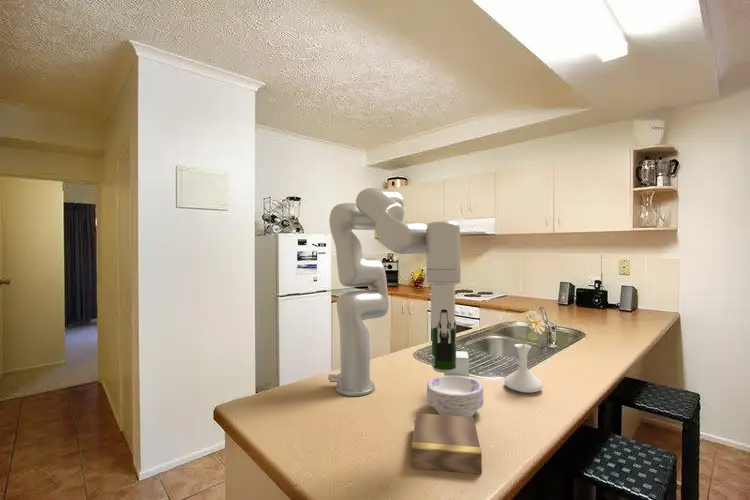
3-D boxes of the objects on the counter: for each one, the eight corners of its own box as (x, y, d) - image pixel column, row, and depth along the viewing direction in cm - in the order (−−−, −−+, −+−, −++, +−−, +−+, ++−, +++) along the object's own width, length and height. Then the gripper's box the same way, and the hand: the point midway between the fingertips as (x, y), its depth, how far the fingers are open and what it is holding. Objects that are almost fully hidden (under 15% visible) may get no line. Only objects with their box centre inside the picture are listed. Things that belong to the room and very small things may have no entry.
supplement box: (469, 400, 107) (469, 358, 106) (444, 398, 108) (443, 356, 108) (468, 390, 114) (467, 351, 114) (444, 389, 115) (443, 350, 115)
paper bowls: (424, 400, 107) (424, 373, 107) (475, 400, 107) (475, 373, 107) (430, 425, 92) (430, 394, 92) (490, 425, 91) (490, 394, 91)
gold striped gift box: (411, 467, 74) (411, 446, 74) (416, 429, 90) (416, 412, 90) (481, 474, 72) (481, 452, 72) (473, 433, 88) (473, 415, 88)
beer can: (437, 374, 78) (437, 319, 78) (428, 366, 83) (428, 314, 83) (460, 372, 79) (460, 317, 79) (450, 364, 84) (449, 313, 84)
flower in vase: (517, 397, 108) (517, 314, 108) (497, 383, 119) (496, 308, 119) (555, 393, 111) (555, 312, 111) (532, 380, 122) (531, 306, 122)
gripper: (427, 273, 90) (428, 345, 90) (425, 279, 73) (426, 368, 73) (458, 273, 89) (458, 347, 89) (463, 280, 72) (463, 370, 72)
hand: (444, 356), depth 81 cm, fingers closed on beer can, 5 cm apart
